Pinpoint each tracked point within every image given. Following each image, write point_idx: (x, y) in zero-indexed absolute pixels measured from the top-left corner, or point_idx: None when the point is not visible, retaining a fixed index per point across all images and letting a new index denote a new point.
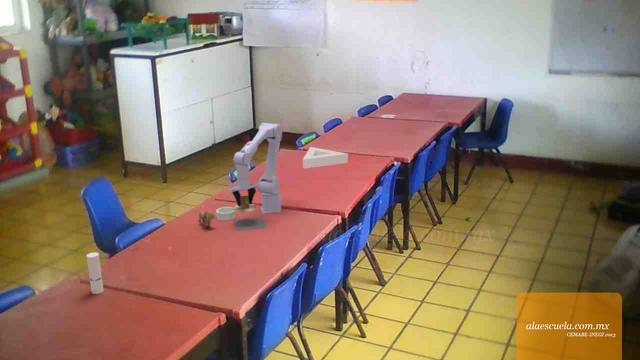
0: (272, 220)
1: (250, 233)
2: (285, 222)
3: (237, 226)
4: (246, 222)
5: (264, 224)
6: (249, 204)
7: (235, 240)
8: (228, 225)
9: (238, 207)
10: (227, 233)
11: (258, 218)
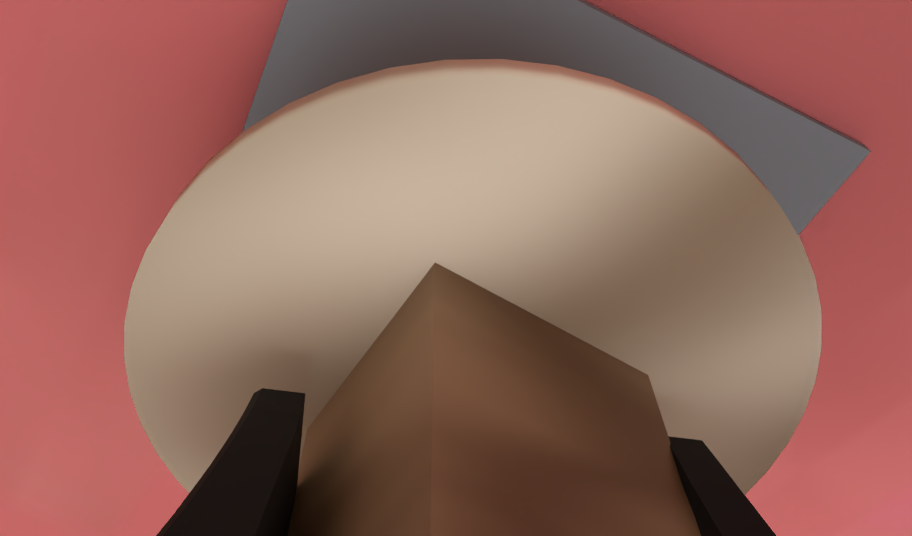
0: (854, 334)
1: None
2: (887, 475)
3: None
4: None
5: None
6: (718, 321)
7: (47, 533)
8: (128, 43)
9: (306, 324)
10: (4, 328)
11: (767, 164)
